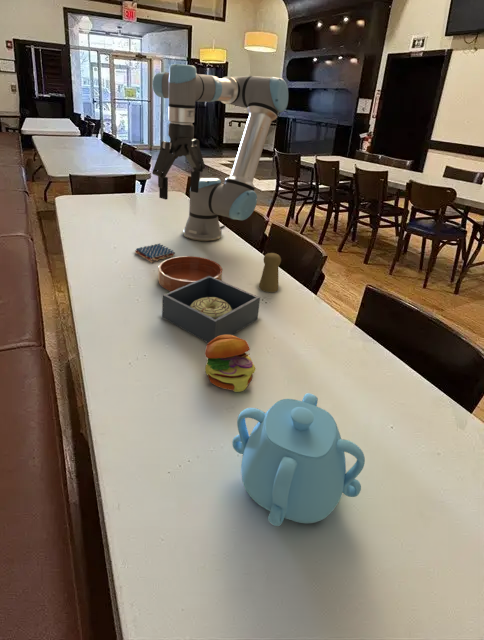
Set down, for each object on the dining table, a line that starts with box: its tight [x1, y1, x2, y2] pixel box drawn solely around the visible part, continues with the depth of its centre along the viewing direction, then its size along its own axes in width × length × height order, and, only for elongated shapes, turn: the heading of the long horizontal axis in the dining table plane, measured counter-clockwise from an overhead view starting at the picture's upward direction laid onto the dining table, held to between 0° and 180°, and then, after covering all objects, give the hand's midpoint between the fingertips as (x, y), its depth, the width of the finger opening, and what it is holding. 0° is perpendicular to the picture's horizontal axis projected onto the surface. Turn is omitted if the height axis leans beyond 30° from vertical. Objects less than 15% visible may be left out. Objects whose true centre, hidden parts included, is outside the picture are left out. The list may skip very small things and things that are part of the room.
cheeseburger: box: [204, 334, 257, 393], centre depth 85 cm, size 10×11×10 cm
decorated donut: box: [190, 297, 232, 319], centre depth 106 cm, size 10×11×4 cm
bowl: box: [157, 255, 223, 292], centre depth 126 cm, size 19×19×4 cm
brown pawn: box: [258, 252, 282, 293], centre depth 125 cm, size 6×6×11 cm
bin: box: [161, 276, 261, 344], centre depth 106 cm, size 18×18×6 cm
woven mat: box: [134, 243, 176, 264], centre depth 144 cm, size 10×11×2 cm
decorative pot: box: [231, 392, 366, 527], centre depth 61 cm, size 16×16×14 cm
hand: (179, 195), depth 127 cm, fingers open, 13 cm apart
